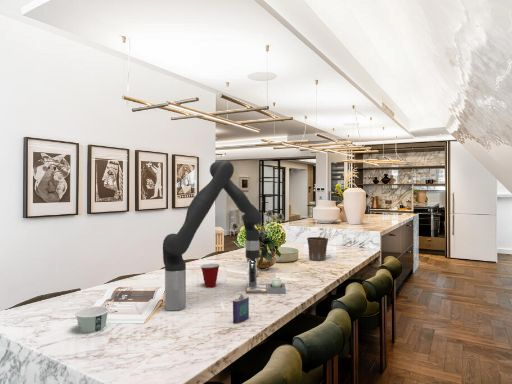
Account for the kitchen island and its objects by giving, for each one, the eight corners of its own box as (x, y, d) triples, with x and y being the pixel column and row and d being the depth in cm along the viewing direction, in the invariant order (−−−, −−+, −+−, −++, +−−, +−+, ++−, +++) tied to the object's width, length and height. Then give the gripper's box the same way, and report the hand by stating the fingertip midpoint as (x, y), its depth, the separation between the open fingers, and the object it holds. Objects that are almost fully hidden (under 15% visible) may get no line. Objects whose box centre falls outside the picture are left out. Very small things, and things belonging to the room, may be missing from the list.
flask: (245, 316, 153) (245, 291, 152) (251, 317, 151) (251, 292, 151) (231, 322, 145) (231, 296, 145) (237, 324, 143) (237, 297, 143)
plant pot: (331, 258, 278) (331, 237, 278) (323, 262, 264) (323, 240, 264) (311, 256, 287) (312, 236, 286) (303, 260, 273) (303, 238, 273)
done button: (281, 289, 187) (281, 282, 187) (271, 289, 187) (271, 282, 187) (281, 287, 192) (281, 279, 192) (271, 287, 192) (271, 279, 192)
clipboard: (267, 293, 186) (267, 290, 186) (245, 293, 186) (245, 290, 186) (267, 285, 202) (267, 282, 202) (247, 285, 202) (247, 282, 202)
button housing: (285, 294, 185) (285, 288, 185) (267, 293, 185) (267, 288, 185) (284, 289, 194) (284, 283, 194) (267, 288, 194) (267, 283, 194)
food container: (70, 328, 140) (70, 311, 140) (101, 320, 148) (101, 304, 148) (81, 337, 131) (81, 319, 131) (114, 328, 140) (114, 311, 140)
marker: (256, 287, 190) (256, 266, 190) (248, 287, 190) (248, 266, 190) (256, 284, 194) (256, 264, 194) (249, 284, 194) (249, 264, 194)
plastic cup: (207, 282, 207) (207, 261, 207) (223, 285, 202) (223, 263, 202) (196, 287, 197) (196, 265, 197) (212, 289, 192) (212, 267, 192)
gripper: (259, 251, 184) (259, 284, 185) (260, 246, 199) (260, 277, 199) (244, 251, 185) (244, 284, 185) (246, 246, 199) (246, 277, 199)
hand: (252, 280), depth 192 cm, fingers closed on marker, 4 cm apart
